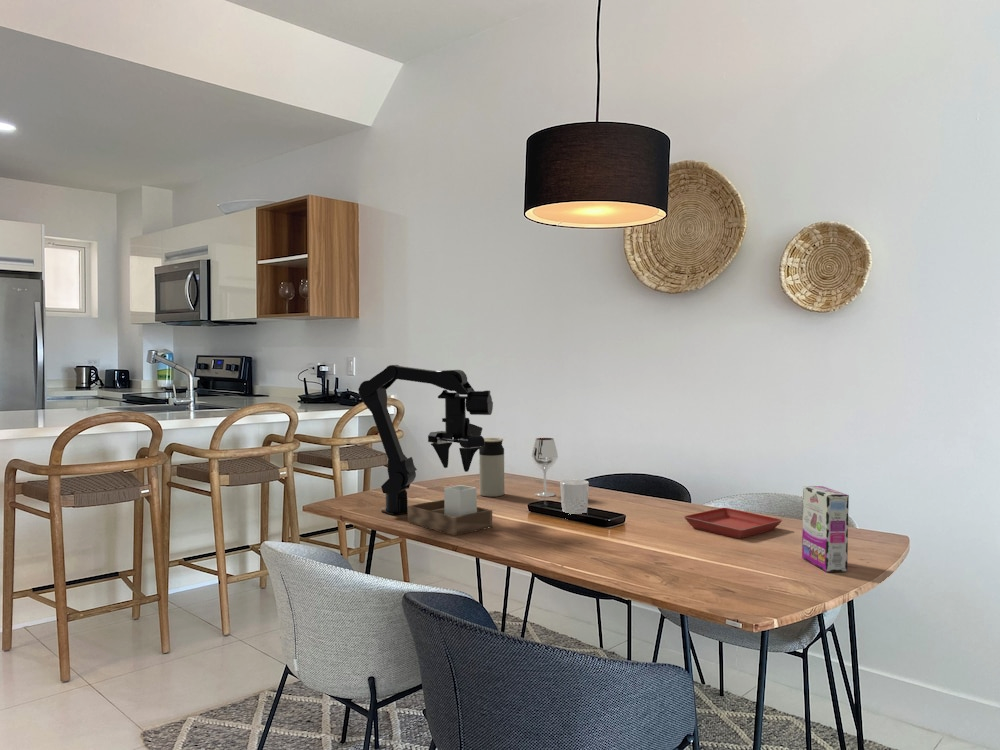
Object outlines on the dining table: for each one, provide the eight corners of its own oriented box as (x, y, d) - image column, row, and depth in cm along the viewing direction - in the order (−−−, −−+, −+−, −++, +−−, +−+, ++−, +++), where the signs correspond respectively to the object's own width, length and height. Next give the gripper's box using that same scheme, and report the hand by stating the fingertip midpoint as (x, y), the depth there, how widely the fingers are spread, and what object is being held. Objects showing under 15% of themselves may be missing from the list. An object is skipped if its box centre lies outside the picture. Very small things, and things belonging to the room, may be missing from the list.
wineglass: (558, 497, 240) (558, 440, 240) (532, 497, 240) (532, 440, 240) (556, 492, 248) (556, 437, 248) (531, 492, 249) (531, 437, 248)
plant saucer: (783, 531, 197) (783, 518, 197) (741, 542, 186) (741, 529, 186) (724, 519, 211) (724, 507, 211) (682, 528, 200) (682, 516, 200)
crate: (407, 522, 208) (407, 505, 207) (445, 515, 216) (445, 498, 216) (454, 535, 193) (453, 517, 193) (492, 527, 202) (492, 509, 202)
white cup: (587, 521, 208) (587, 484, 207) (558, 520, 209) (558, 484, 209) (590, 515, 215) (589, 479, 215) (562, 513, 217) (562, 479, 217)
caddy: (444, 525, 201) (444, 488, 201) (460, 521, 205) (460, 484, 205) (460, 529, 197) (460, 490, 197) (476, 525, 201) (476, 487, 201)
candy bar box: (849, 572, 160) (850, 494, 160) (826, 573, 160) (827, 495, 159) (822, 557, 171) (823, 485, 171) (800, 558, 171) (801, 485, 170)
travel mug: (497, 498, 240) (497, 441, 239) (475, 496, 243) (474, 439, 243) (508, 493, 247) (508, 438, 246) (486, 491, 251) (486, 437, 250)
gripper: (498, 414, 213) (499, 470, 214) (456, 410, 227) (457, 462, 228) (468, 417, 206) (468, 475, 206) (426, 413, 220) (427, 467, 220)
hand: (456, 469), depth 215 cm, fingers open, 9 cm apart
